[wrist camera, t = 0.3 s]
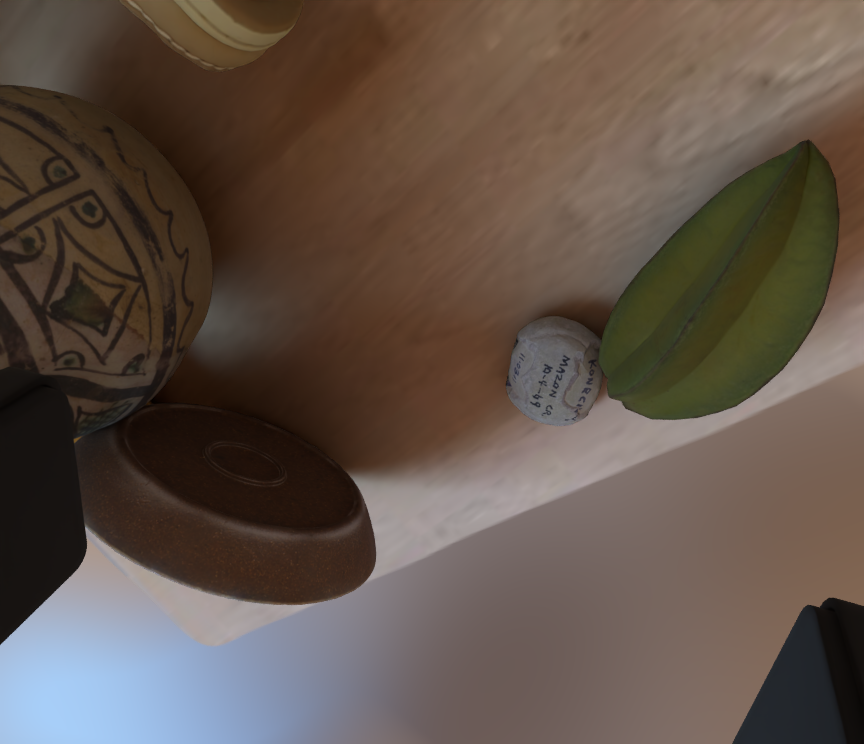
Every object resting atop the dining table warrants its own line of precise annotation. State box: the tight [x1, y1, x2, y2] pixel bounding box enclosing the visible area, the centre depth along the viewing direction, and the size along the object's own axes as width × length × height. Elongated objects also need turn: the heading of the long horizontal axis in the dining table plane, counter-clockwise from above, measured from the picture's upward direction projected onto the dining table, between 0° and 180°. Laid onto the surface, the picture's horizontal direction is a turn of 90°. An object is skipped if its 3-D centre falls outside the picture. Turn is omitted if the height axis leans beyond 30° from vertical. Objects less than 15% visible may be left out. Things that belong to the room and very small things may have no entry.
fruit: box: [598, 140, 839, 420], centre depth 34 cm, size 11×12×7 cm
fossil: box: [506, 316, 603, 426], centre depth 40 cm, size 6×3×5 cm
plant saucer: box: [74, 403, 376, 605], centre depth 41 cm, size 18×18×3 cm
